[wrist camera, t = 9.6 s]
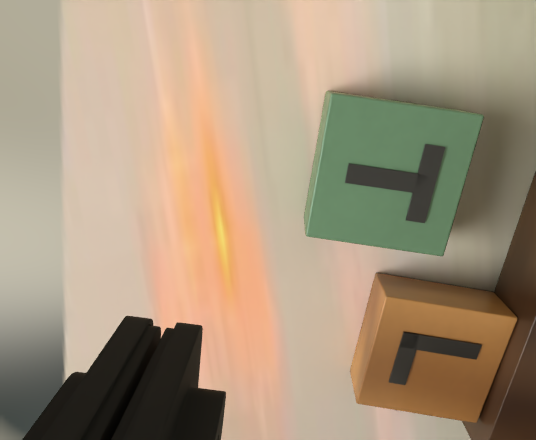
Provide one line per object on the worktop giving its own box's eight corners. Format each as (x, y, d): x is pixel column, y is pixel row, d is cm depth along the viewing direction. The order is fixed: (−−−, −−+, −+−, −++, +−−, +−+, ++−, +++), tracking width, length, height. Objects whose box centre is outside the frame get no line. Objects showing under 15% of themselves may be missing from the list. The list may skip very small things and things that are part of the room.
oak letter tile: (375, 271, 22) (386, 297, 19) (493, 291, 22) (520, 319, 19) (349, 370, 24) (356, 405, 21) (458, 388, 24) (478, 425, 21)
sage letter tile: (325, 90, 19) (331, 92, 17) (461, 110, 19) (486, 115, 17) (303, 218, 21) (305, 237, 19) (426, 236, 21) (444, 258, 18)
